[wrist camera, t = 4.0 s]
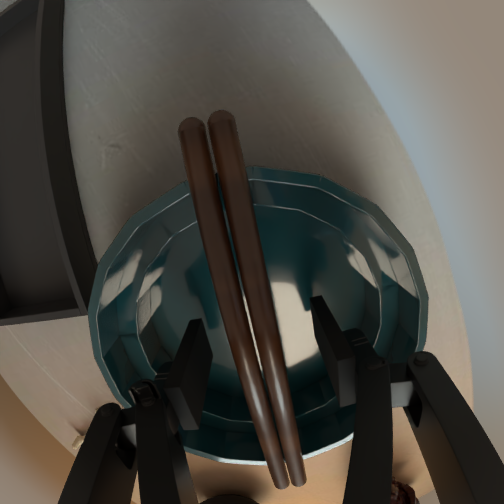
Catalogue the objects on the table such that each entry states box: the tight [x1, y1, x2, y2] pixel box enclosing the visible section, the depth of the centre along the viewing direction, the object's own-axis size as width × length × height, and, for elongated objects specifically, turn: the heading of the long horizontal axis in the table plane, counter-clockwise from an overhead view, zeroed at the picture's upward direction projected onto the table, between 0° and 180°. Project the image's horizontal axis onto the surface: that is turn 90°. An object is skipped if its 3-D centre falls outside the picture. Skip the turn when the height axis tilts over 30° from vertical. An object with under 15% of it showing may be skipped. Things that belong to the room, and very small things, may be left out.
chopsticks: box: [178, 110, 307, 489], centre depth 14 cm, size 23×2×1 cm, turn 12°
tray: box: [0, 0, 97, 326], centre depth 15 cm, size 11×26×3 cm, turn 12°
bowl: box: [88, 166, 429, 465], centre depth 17 cm, size 18×18×6 cm
